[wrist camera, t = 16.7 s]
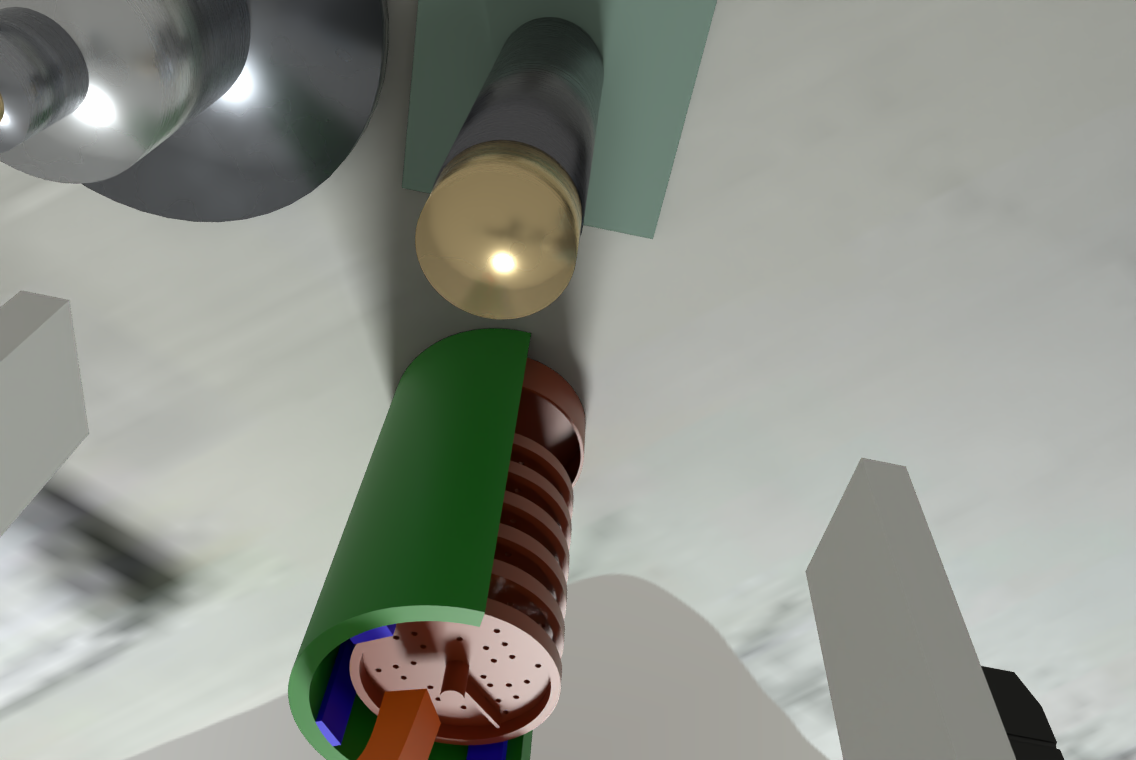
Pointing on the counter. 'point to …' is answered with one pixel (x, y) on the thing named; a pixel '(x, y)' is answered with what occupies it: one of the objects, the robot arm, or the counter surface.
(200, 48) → the grey cylinder with box
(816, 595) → the robot arm
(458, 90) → the mat
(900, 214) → the counter surface
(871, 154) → the counter surface
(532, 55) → the gold capped bottle
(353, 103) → the base
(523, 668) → the cutaway screw mechanism model
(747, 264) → the counter surface
